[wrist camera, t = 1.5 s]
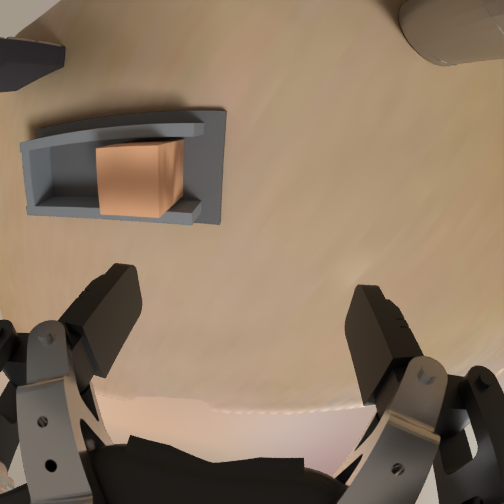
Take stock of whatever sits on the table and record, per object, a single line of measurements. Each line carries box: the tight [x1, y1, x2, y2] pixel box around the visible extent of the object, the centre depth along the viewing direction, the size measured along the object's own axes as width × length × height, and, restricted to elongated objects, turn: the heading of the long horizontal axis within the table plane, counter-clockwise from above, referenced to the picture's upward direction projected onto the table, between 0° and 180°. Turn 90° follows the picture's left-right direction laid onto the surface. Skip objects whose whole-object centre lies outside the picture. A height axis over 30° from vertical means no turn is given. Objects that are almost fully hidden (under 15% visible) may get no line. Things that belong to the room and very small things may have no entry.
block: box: [96, 139, 184, 218], centre depth 24 cm, size 6×6×7 cm
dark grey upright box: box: [0, 37, 65, 92], centre depth 14 cm, size 11×4×15 cm, turn 90°
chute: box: [20, 111, 227, 225], centre depth 25 cm, size 12×26×5 cm, turn 85°
